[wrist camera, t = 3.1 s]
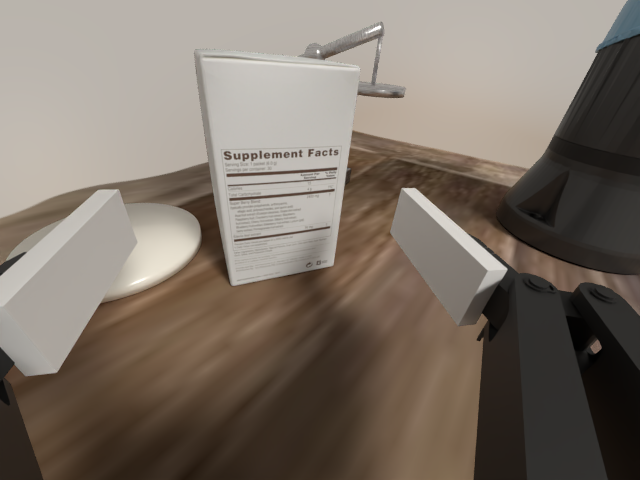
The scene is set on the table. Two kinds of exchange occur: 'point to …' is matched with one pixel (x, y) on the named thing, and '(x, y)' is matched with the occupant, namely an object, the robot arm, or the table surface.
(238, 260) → the supplement box
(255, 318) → the table surface
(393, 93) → the balance
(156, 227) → the cream dish
